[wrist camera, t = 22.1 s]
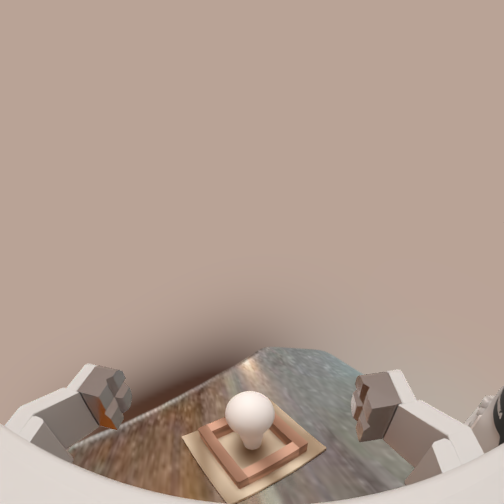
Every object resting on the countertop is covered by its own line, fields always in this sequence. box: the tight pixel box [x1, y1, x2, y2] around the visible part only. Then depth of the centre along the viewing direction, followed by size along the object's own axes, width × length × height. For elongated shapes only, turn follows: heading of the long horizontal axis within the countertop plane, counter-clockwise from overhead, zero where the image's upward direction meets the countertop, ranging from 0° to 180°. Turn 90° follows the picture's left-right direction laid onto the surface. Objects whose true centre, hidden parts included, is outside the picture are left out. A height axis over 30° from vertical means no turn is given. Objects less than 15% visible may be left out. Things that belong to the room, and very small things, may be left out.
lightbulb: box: [225, 391, 275, 450], centre depth 31 cm, size 6×6×11 cm
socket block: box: [182, 398, 326, 504], centre depth 33 cm, size 16×14×3 cm
